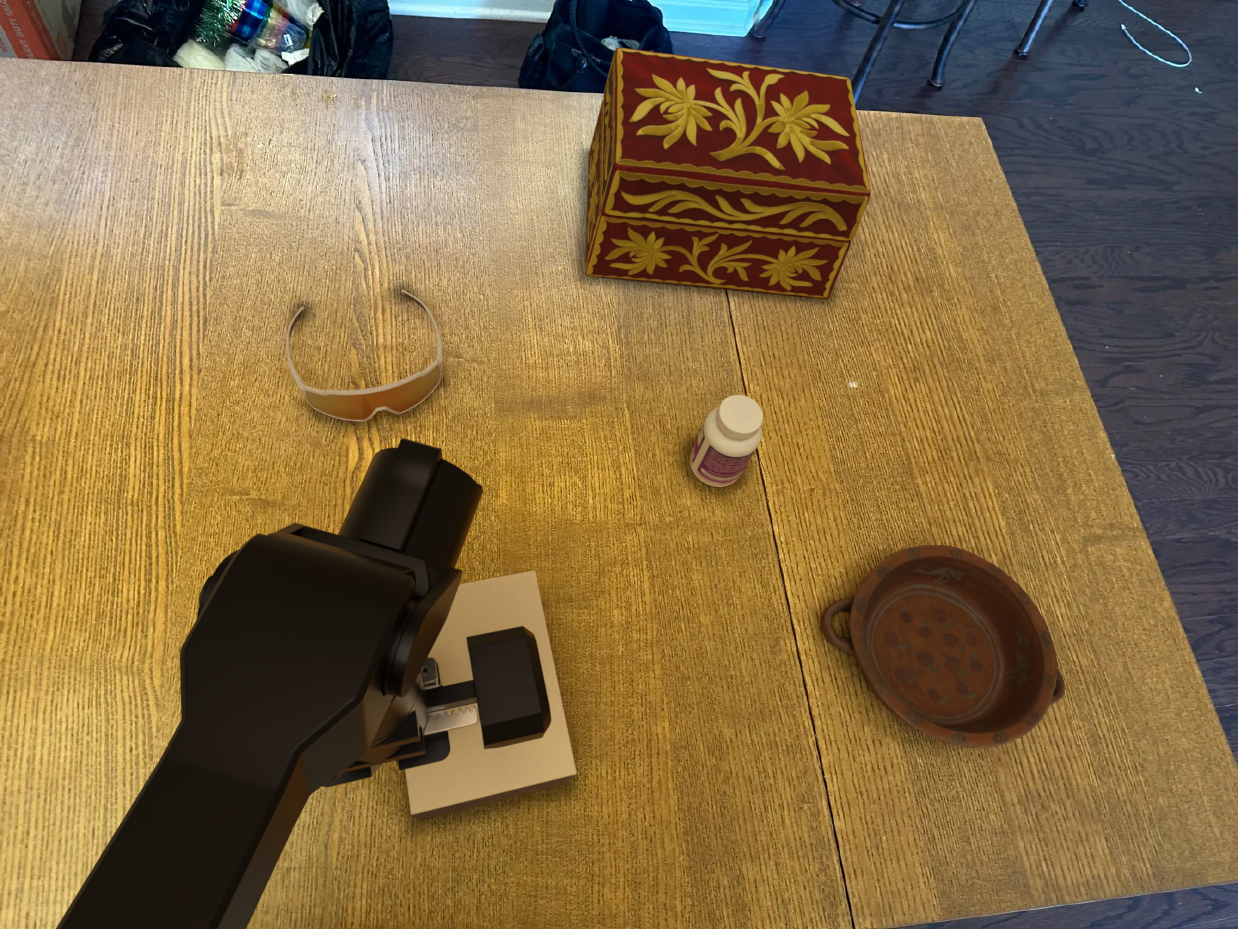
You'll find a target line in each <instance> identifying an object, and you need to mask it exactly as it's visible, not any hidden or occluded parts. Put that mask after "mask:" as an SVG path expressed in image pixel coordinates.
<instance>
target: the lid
mask: <svg viewBox="0 0 1238 929" xmlns="http://www.w3.org/2000/svg"><path fill="white" fill-rule="evenodd" d="M543 606H544V605H543V603H542V597H541V593H540V588H539V582H538V578H537V573H536V570H535V569H534V570H528V571H521V572H518V573H512V574H507V575H506V574H505V575H502V576H496V577H491V578H485V579H479V580H475V581H469V582H464V583H463V582H462V583H460V584H459V587H458V590H457V592H456V595H455V598H454V601H453V603H452V606H451V609H450V612H449V614H448V617H447V619H446V622H445V624H444V626H443V628H442V629H441V631H440V633H439V635H438V637H437V639H436V641H435V643H434V645H433V647H432V649H431V651H430V653H429V655H428V657H433V658H434V659H435V660H436V662H437V663H438V667H439V673H440V680H441V684H443V686H446V685H451V684H455V683H460V682H465V681H470V680H473V676H472V670H471V664H470V658H469V652H468V648H467V641H466V637H469V636H474V635H479V634H484V633H489V632H494V631H499V630H504V629H510V628H515V627H520V626H524V627H525V628H527V629H528V630H529V631H531V632H532V633H533V634H534V635H535V638H536V641H537V646H538V651H539V656H540V661H541V666H542V671H543V676H544V680H545V685H546V690H547V695H548V700H549V705H550V712H551V720H552V721H551V723H550V726H549V728H548V729H547V731H546V732H545V734H544V736H543V737H542V738H539V739H535V740H531V741H526V742H522V743H518V744H513V745H509V746H505V747H500V748H492V749H484V745H483V739H482V731H481V725H480V719H479V722H478V723H477V724H475V725H472V726H467V727H463V728H458V729H454V730H449V731H448V734H449V741H450V753H449V755H448V757H447V758H446V759H444V760H442V761H439V762H435V763H431V764H426V765H422V766H418V767H414V768H409V769H405V778H406V779H405V780H406V787H407V794H408V795H407V796H408V802H409V803H408V804H409V810H410V811H409V812H410V815H411V816H413V815H415V814H419V813H423V812H427V811H431V810H435V809H439V808H443V807H447V806H451V805H455V804H459V803H463V802H467V801H471V800H475V799H479V798H483V797H487V796H492V795H496V794H500V793H504V792H508V791H512V790H516V789H520V788H524V787H528V786H532V785H536V784H540V783H544V782H548V781H552V780H556V779H560V778H564V777H568V776H572V775H575V776H576V775H577V768H576V762H575V757H574V754H573V749H572V744H571V743H572V742H571V740H570V739H571V738H570V734H569V728H568V724H567V719H566V714H565V708H564V704H563V700H562V695H561V689H560V685H559V679H558V676H557V670H556V666H555V665H556V664H555V661H554V656H553V651H552V646H551V640H550V635H549V632H548V627H547V626H548V625H547V620H546V617H545V612H544V607H543ZM473 705H475V706H476V708H477V710H478V706H477V703H475V704H470V705H465V706H461V707H456V708H451V709H447V713H448V715H449V716H451V711H452V710H454V711H455V713H456V714H458V710H459V708H461V710H462V711H463V713H465V709H466V707H468V708H469V710H470V711H472V708H473ZM478 716H479V713H478Z"/></svg>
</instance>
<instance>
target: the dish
mask: <svg viewBox="0 0 1238 929" xmlns="http://www.w3.org/2000/svg"><path fill="white" fill-rule="evenodd" d="M841 612H845V613H848V615H849V618H848V631H849V637H843V636H840V635H839V634H838V633H837V631H836V630H835V629H834V626H833V621H834V620H833V619H834V617H836V615H837V614H839V613H841ZM819 619H820V620H819V624H820V631H821V633H822V634H823V637H824V639H825V640H826V641H827V642H828V643H829V644H830V645H831V646H833V647H834V648H836V649H838V650H840V651H842V652H843V653H846V654H847V655H849V656H851V657H852V658H853V659H855V660H856V663H857V664H858V666H859V668H860V671H861V673H862V675H863V677H864V680H865V682H866V684H867V685H868V688H870V690H871V692H872V693H873V695H874V696H875V697H876V698H877V699H878V701H879V702H880V703H881V704H882V705H883V706H884V708H886V709H887V710H888V711H889V712H890V713H892V714H893V715H894V716H895V717H896V718H898V719H899V720H901V721H902V722H904V723H905V724H907V725H909V726H911V727H912V728H914V729H916V730H918V731H919V732H921V733H923V734H924V735H927V736H929V737H931V738H934V739H935V740H938V741H941V742H943V743H947V744H950V745H954V746H958V747H963V748H970V749H987V748H993V747H1000V746H1004V745H1008V744H1010V743H1012V742H1014V741H1016V740H1018V739H1020V738H1023V736H1025V735H1027V734H1028V733H1030V732H1031V731H1032V730H1033V729H1034V728H1035V727H1037V726H1038V725H1039V724H1040V723H1041V721H1043V719H1044V717H1045V715H1046V714H1047V712H1048V711H1049V708H1050V706H1051V705H1054V704H1056V703H1058V702H1059V701H1061V700H1062V699H1063V697H1064V695H1065V692H1066V685H1065V679H1064V676H1063V674H1062V672H1061V671H1060V669H1059V662H1058V657H1057V652H1056V649H1055V648H1056V647H1055V645H1054V641H1053V639H1052V635H1051V632H1050V629H1049V627H1048V625H1047V623H1046V620H1045V619H1044V617H1043V616H1042V614H1041V611H1040V610H1039V609H1038V607H1037V605H1036V604H1035V602H1034V601H1033V600H1032V598H1031V597H1030V596H1029V594H1028V592H1026V591H1025V589H1024V588H1023V587H1022V586H1021V585H1020V584H1019V583H1018V582H1017V581H1015V579H1013V578H1012V576H1010V575H1009V574H1008V573H1006V572H1005V571H1004V570H1003V569H1001V568H1000V567H998V566H997V565H996V564H994V563H992V562H990V561H989V560H987V559H985V558H984V557H982V556H980V555H977V554H975V553H973V552H971V551H969V550H966V549H964V548H960V547H956V546H952V545H944V544H938V545H937V544H935V545H934V544H924V545H923V544H922V545H917V546H911V547H907V548H904V549H900V550H898V551H897V552H894V553H893V554H891V555H888V556H887V557H886V558H884V559H882V560H881V561H880V562H879V563H878V564H877V565H875V566H874V567H873V568H872V569H871V570H870V571H869V572H868V573H867V575H865V577H864V578H863V580H862V581H861V583H860V584H859V586H858V588H857V591H856V592H855V595H854V596H852V597H847V598H842V599H839V600H836V601H834V602H832V603H830V604H829V605H827V606H826V608H825V609H824V610H823V612H821V616H820V618H819Z"/></svg>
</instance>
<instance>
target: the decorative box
mask: <svg viewBox="0 0 1238 929" xmlns="http://www.w3.org/2000/svg"><path fill="white" fill-rule="evenodd" d="M605 83H606V84H605V87H604V91H603V98H602V100H601V104H600V107H599V111H598V115H597V119H596V123H595V127H594V131H593V134H592V139H591V143H590V148H589V151H588V161H587V162H588V163H587V190H586V191H587V192H586V194H587V196H586V226H585V255H584V256H585V257H584V258H585V259H584V271H585V275H586V276H588V277H589V276H590V277H595V278H606V279H615V280H625V281H636V282H647V283H655V284H656V283H657V284H666V285H667V284H669V285H679V286H686V287H687V286H689V287H699V288H708V289H709V288H710V289H718V290H719V289H721V290H729V291H730V290H731V291H739V292H740V291H741V292H751V293H760V294H761V293H762V294H773V295H782V296H792V297H793V296H794V297H805V298H814V299H815V298H816V299H829V298H830V297H831V294H832V292H833V289H834V287H835V285H836V282H837V280H838V278H839V275H840V272H841V270H842V267H843V265H844V263H845V260H846V258H847V255H848V253H849V250H850V247H851V246H852V241H853V240H854V238H855V235H856V233H857V231H858V228H859V226H860V223H861V221H862V218H863V216H864V214H865V211H866V208H867V206H868V204H869V201H870V198H871V194H872V191H871V184H870V178H869V174H868V173H869V172H868V168H867V167H868V166H867V163H866V156H865V152H864V146H863V140H862V136H861V130H860V126H859V120H858V114H857V108H856V103H855V97H854V93H853V87H852V83H851V79H850V77H846V76H841V75H835V74H828V73H827V74H826V73H819V72H812V71H806V70H805V71H803V70H796V69H789V68H781V67H775V66H773V67H772V66H765V65H758V64H750V63H742V62H735V61H729V60H719V59H711V58H704V57H697V56H689V55H682V54H681V55H680V54H673V53H666V52H659V51H651V50H642V49H635V48H627V47H626V48H625V47H616V48H615V50H614V52H613V56H612V60H611V63H610V67H609V71H608V75H607V79H606V82H605Z"/></svg>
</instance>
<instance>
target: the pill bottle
mask: <svg viewBox="0 0 1238 929" xmlns="http://www.w3.org/2000/svg"><path fill="white" fill-rule="evenodd" d="M763 422H764V412H763V410H762V408H761V406H760V405H759V403H758V402H757V401H756V400H755V399H753V398H751V397H749V396H747V395H743V394H733V395H729V396H727V397H725V399H723V401H721V403H720V405H718V406H716V407H714V408H713V409H712V410H710V412H709V413H708V414H707V416H706V417H705V419H704V422H703V424H702V427H701V428H700V431H699V433H698V435H697V438H696V440H695V442H694V445H693V447H692V449H691V452H690V456H689V464H690V468H691V471H692V473H693V474H694V476H695V477H696V478H697V479H698V480H699V481H700V482H702V483H703V484H704V485H707V486H710V487H714V488H724V487H727V486H730V485H733V484H734V483H736V482H737V481H738V480H739V478H740V477H741V476H742V474H743V472H744V471H745V469H746V467H747V466H748V464H749V462H750V460H751V459H752V457H753V455H754V454H755V452H756V451H757V449H758V448H759V445H760V443H761V440H762V436H763V435H762V434H763V433H762V432H763V429H762V425H763Z"/></svg>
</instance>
